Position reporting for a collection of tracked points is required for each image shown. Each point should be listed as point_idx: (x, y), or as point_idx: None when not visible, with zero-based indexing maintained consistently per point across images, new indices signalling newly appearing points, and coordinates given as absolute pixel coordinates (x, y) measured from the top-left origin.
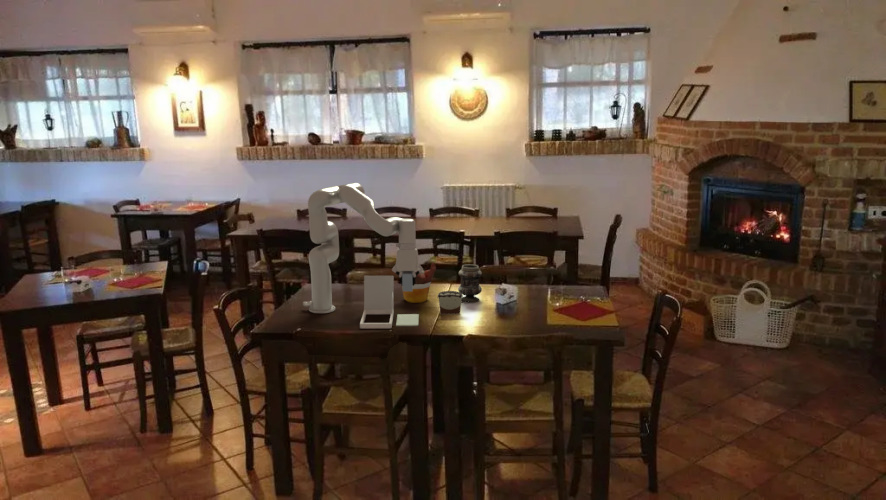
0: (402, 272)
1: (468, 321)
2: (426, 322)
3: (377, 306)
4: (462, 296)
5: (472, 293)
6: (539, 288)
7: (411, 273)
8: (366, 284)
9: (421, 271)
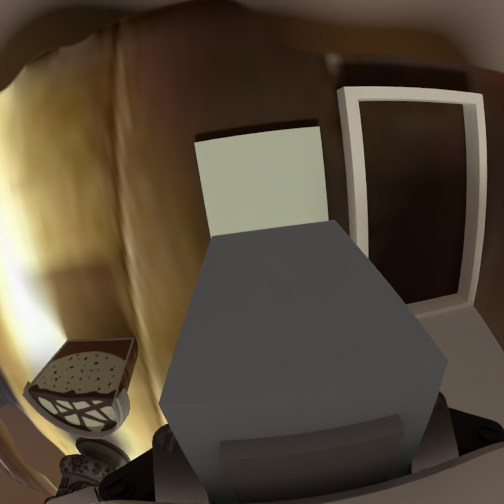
0: (411, 464)
1: (13, 254)
2: (164, 211)
3: (431, 327)
4: (25, 386)
5: (72, 456)
6: (22, 476)
7: (204, 452)
8: None
9: (70, 495)
